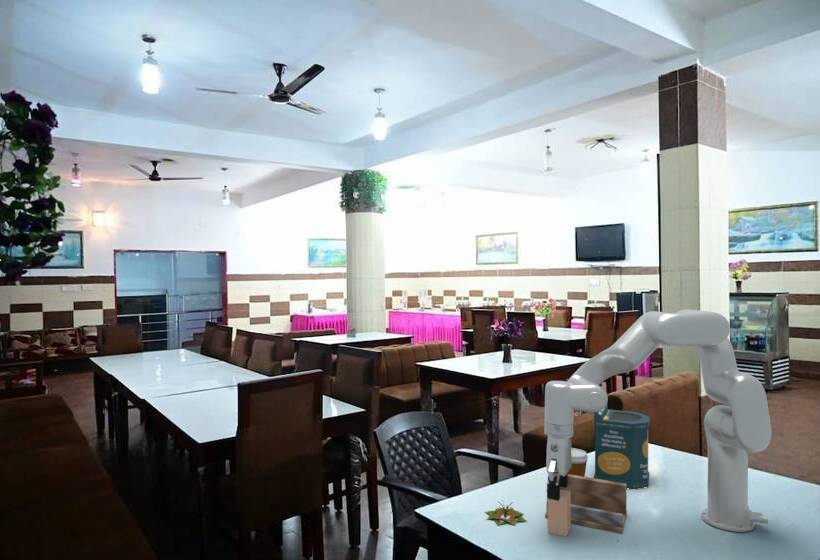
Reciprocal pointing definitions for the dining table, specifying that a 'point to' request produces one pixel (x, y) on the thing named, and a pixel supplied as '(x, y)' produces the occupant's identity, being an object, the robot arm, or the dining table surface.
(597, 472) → the donation box
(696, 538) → the dining table surface
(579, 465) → the disposable coffee cup
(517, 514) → the lily flower
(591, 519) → the cleat board
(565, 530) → the terracotta block
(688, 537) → the dining table surface
